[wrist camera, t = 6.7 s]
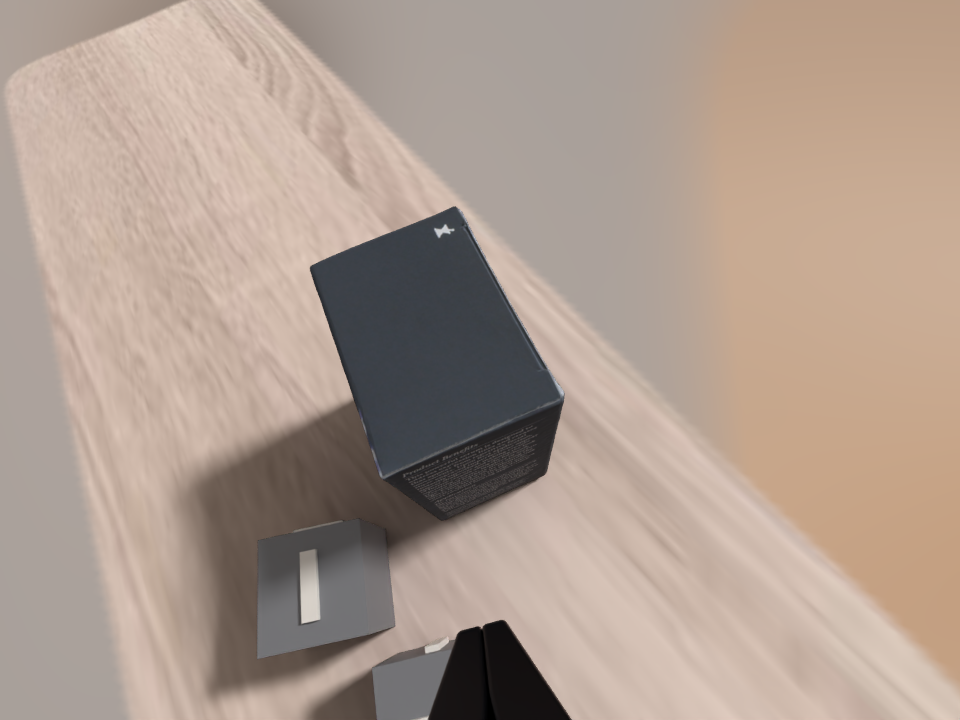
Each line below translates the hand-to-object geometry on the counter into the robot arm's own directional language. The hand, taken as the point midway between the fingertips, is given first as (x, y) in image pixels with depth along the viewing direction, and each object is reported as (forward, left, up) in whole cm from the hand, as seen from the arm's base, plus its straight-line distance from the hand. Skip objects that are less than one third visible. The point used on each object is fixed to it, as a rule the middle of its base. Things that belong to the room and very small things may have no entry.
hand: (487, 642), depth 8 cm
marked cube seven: (+2, +7, -13) cm, 15 cm away
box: (+8, 0, -14) cm, 16 cm away
